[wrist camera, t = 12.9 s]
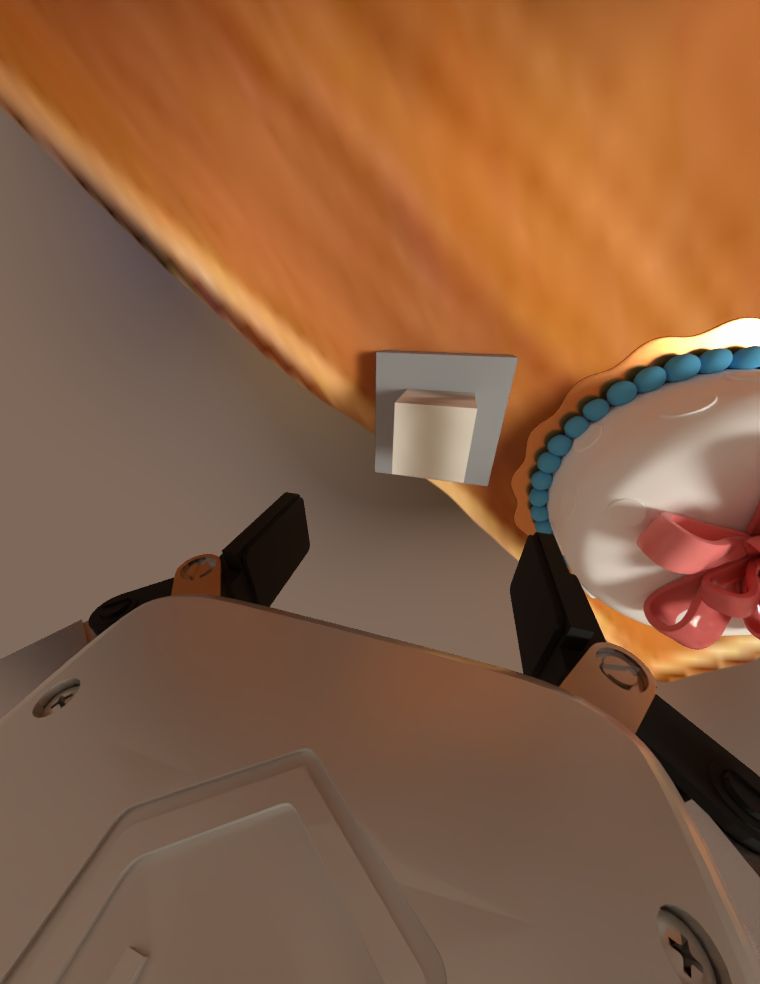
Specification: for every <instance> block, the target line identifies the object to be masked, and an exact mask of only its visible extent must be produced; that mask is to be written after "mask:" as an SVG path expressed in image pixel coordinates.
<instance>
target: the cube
mask: <svg viewBox="0 0 760 984" xmlns="http://www.w3.org/2000/svg"><path fill="white" fill-rule="evenodd" d="M476 414H477V403H476V398H475V393H469V392H453V391H437V390H421V389H407V390H406V391H405V392H404V393H403V394H402V395H401V397H400V398H399V399H398V400H397V401H396V402H395V412H394V436H393V460H392V474H397V475H405V476H413V477H421V478H429V479H437V480H445V481H453V482H460V483H464V478H465V473H466V468H467V462H468V457H469V451H470V446H471V441H472V435H473V430H474V424H475V419H476Z"/></svg>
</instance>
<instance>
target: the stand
mask: <svg viewBox="0 0 760 984" xmlns="http://www.w3.org/2000/svg"><path fill="white" fill-rule="evenodd" d="M517 360H518V357H516V356H514V355H500V354H473V353H446V352H419V351H392V350H383V351H379V352H376V427H375V472H380V473H388V474H392V460H393V436H394V412H395V402H396V401H397V400H398V399H399V398H400V397H401V395H402V394H403V393H404V392H405V391H406V390H407V389H421V390H437V391H453V392H469V393H475V398H476V403H477V414H476V419H475V424H474V430H473V435H472V441H471V446H470V451H469V457H468V462H467V468H466V473H465V478H464V483H466V484H474V485H482V486H488V483H489V478H490V474H491V470H492V466H493V462H494V457H495V453H496V449H497V445H498V440H499V436H500V432H501V428H502V424H503V419H504V415H505V411H506V407H507V403H508V398H509V394H510V390H511V386H512V382H513V377H514V373H515V369H516V365H517ZM396 475H397V474H396ZM404 476H405V475H404ZM412 477H413V476H412ZM419 478H421V477H419ZM427 479H429V478H427ZM435 480H437V479H435ZM442 481H445V480H442ZM450 482H453V481H450ZM458 483H460V482H458Z"/></svg>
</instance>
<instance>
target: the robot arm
mask: <svg viewBox="0 0 760 984" xmlns="http://www.w3.org/2000/svg"><path fill="white" fill-rule="evenodd" d="M309 547H310V542H309V535H308V528H307V521H306V515H305V508H304V501H303V499H302V498H300V495H298V494H294V493H288V492H286V493H284V494H283V495H282V496H281V497H280V498H279V499H278V500H276V501H275V502H274V503H273V504H272V505H271V506H270V507H269V508H268V509H267V510H266V511H265V512H264V513H262V514H261V515H260V516H259V517H258V518H257V519H256V520H255V521H254V522H253V523H251V525H249V526H248V527H247V528H246V529H245V530H244V531H243V532H242V533H241V534H240V535H238V536H237V537H236V538H235V539H234V540H233V541H232V542H231V543H230V544H229V545H228V546H227V547H225V548H224V549H223V550H222V552H223V554H222V555H221V556H220V557H218V556H216V555H213V554H203V555H199V556H196V557H193V558H191V559H189V560H187V561H185V562H184V563H183V564H182V565H181V566H180V567H179V568H178V569H177V571H176V573H175V577H174V578H171V579H168V580H165V581H162V582H158V583H156V584H152V585H149V586H146V587H143V588H140V589H137V590H133V591H130V592H127V593H124V594H121V595H118V596H116V597H114V598H111V599H110V600H108V601H106V602H105V603H103V604H102V605H101V606H99V607H98V608H97V609H96V610H95V611H94V612H93V613H92V614H91V616H90V618H89V620H88V621H86V622H83V621H82V620H79V621H77V622H75V623H73V624H71V625H69V626H67V627H65V628H63V629H61V630H59V631H57V632H55V633H53V634H51V635H49V636H47V637H45V638H43V639H41V640H39V641H37V642H34V643H33V644H30V645H28V646H26V647H24V648H22V649H20V650H18V651H16V652H14V653H12V654H10V655H8V656H6V657H4V658H2V659H0V984H760V959H759V956H758V954H757V952H756V950H755V947H754V945H753V943H752V941H751V939H750V937H749V934H748V932H747V930H746V928H745V926H746V927H747V929H748V931H749V933H750V934H751V936H752V937H753V939H754V941H755V942H756V944H757V947H758V949H759V952H760V777H759V776H758V775H757V774H756V773H754V772H753V771H752V770H751V769H749V768H748V767H747V766H746V765H744V764H743V763H742V762H740V761H739V760H738V759H737V758H735V757H734V756H733V755H732V754H731V753H729V752H728V751H727V750H726V749H724V748H723V747H722V746H720V745H719V744H718V743H717V742H716V741H714V740H713V739H712V738H710V737H709V736H708V735H707V734H705V733H704V732H703V731H702V730H700V729H699V728H698V727H696V726H695V725H694V724H693V723H692V722H690V721H689V720H688V719H687V718H685V717H684V716H683V715H682V714H680V713H679V712H678V711H677V710H675V709H674V708H673V707H671V706H670V705H669V704H668V703H666V702H665V701H664V700H663V699H661V698H660V697H659V696H658V695H656V689H657V686H656V682H655V679H654V677H653V675H652V674H651V672H650V670H649V669H648V668H647V667H646V666H645V665H644V663H643V662H642V661H641V660H640V659H638V658H637V657H636V656H635V655H633V654H632V653H631V652H629V651H627V650H625V649H624V648H622V647H620V646H617V645H614V644H612V643H606V640H605V638H604V636H603V634H602V631H601V629H600V627H599V624H598V622H597V620H596V618H595V615H594V613H593V611H592V609H591V606H590V604H589V602H588V600H587V597H586V595H585V593H584V591H583V588H582V586H581V584H580V582H579V579H578V578H577V576H576V575H574V574H571V573H570V572H569V570H568V567H567V565H566V563H565V560H564V558H563V555H562V553H561V551H560V548H559V546H558V543H557V541H556V539H555V536H554V535H553V534H547V533H541V532H535V533H534V535H529V536H528V538H527V541H526V544H525V546H524V549H523V552H522V555H521V557H520V560H519V563H518V566H517V569H516V571H515V574H514V577H513V580H512V582H511V586H510V595H511V601H512V607H513V613H514V619H515V625H516V631H517V637H518V643H519V649H520V655H521V661H522V668H523V674H522V673H519V672H515V671H512V670H508V669H505V668H501V667H497V666H494V665H490V664H487V663H483V662H480V661H476V660H473V659H469V658H465V657H461V656H458V655H454V654H450V653H446V652H442V651H439V650H435V649H430V648H427V647H423V646H420V645H416V644H412V643H408V642H404V641H401V640H397V639H393V638H389V637H385V636H381V635H377V634H373V633H370V632H366V631H362V630H358V629H354V628H350V627H346V626H342V625H338V624H335V623H331V622H327V621H323V620H319V619H314V618H311V617H307V616H302V615H299V614H295V613H291V612H287V611H283V610H279V609H275V608H271V607H270V605H271V604H272V603H273V601H274V600H275V598H276V597H277V595H278V594H279V593H280V591H281V590H282V588H283V587H284V585H285V584H286V583H287V581H288V580H289V578H290V577H291V575H292V574H293V572H294V571H295V570H296V568H297V567H298V565H299V564H300V562H301V561H302V560H303V558H304V557H305V555H306V554H307V552H308V551H309ZM660 909H661V910H660ZM743 923H744V924H745V926H744V924H743Z"/></svg>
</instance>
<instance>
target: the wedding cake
mask: <svg viewBox="0 0 760 984" xmlns="http://www.w3.org/2000/svg"><path fill="white" fill-rule="evenodd" d="M511 487H512V490H513V493H514V495H515V497H516V499H517V508H516V511H515V514H514V521H515V524H516V525H517V527H518V528H519V529H520V530H521V531H523V532H524V533H525V534H526V535H528V536H529V535H534V533H535V532H541V533H547V534H553V535H554V536H555V539H556V541H557V543H558V546H559V548H560V551H561V553H562V555H563V558H564V560H565V563H566V565H567V567H568V570H569V572H570V573H571V574H574V575H576V576H577V578H578V579H579V582H580V584H581V586H582V588H583V590H584V591H585V592H586V593H587V594H588V595H589V596H590V597H592V598H596V597H597V598H598V599H599V600H600V601H602V602H603V603H604V604H606V605H607V606H609V607H611V608H612V609H614V610H616V611H618V612H619V613H621V614H623V615H625V616H627V617H630V618H632V619H634V620H636V621H639V622H641V623H644V624H646V625H649V626H653V627H654V628H655V629H656V630H658V631H659V632H661V633H662V634H664V635H666V636H668V637H670V638H672V639H673V640H675V641H676V642H678V643H679V644H681V645H683V646H685V647H688V648H691V649H704V648H706V647H708V646H710V645H711V644H713V643H714V642H715V641H717V640H718V639H719V638H720V637H721V635H751V634H752V635H754V636H755V637H756V638H758V639H760V318H756V317H743V318H738V319H734V320H731V321H728V322H725V323H723V324H721V325H719V326H716V327H714V328H712V329H710V330H708V331H706V332H703V333H701V334H698V335H694V336H687V337H679V336H666V337H660V338H656V339H653V340H651V341H648V342H646V343H645V344H643V345H641V346H640V347H638V348H637V349H636V350H634V351H633V352H632V353H631V354H630V355H629V356H628V357H626V358H625V359H624V360H623V361H622V362H621V363H619V364H618V365H617V366H615V367H614V368H612V369H609V370H607V371H604V372H601V373H598V374H594V375H591V376H588V377H586V378H584V379H582V380H581V381H579V382H578V383H576V384H575V385H574V386H573V387H572V388H571V389H570V391H569V392H568V393H567V395H566V397H565V398H564V400H563V402H562V404H561V406H560V407H559V409H558V410H557V411H556V413H554V414H553V415H552V416H551V417H549V418H548V419H546V420H545V421H543V422H542V423H540V424H539V425H537V426H536V427H535V428H534V429H533V430H532V432H531V433H530V435H529V437H528V439H527V444H526V456H525V459H524V461H523V463H522V464H521V466H520V467H519V468H518V469H517V470H516V472H515V473H514V475H513V477H512V480H511Z"/></svg>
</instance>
